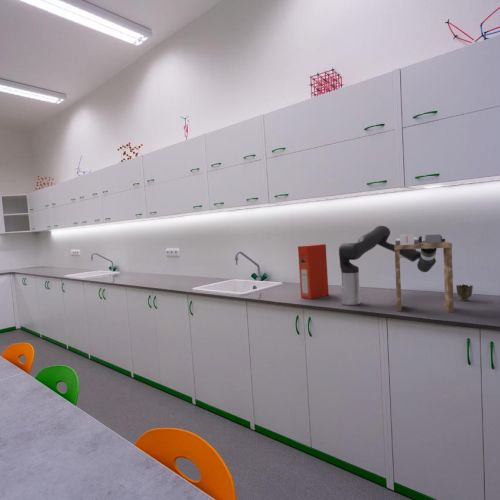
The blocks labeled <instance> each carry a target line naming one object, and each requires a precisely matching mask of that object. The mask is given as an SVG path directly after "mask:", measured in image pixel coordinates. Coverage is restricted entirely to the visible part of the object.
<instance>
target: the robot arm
mask: <svg viewBox="0 0 500 500" xmlns="http://www.w3.org/2000/svg"><path fill="white" fill-rule="evenodd" d="M390 236H391V230H390V228H389V227H388V226H385V225H378V226H376V227H375V228H374V229H373V230H371V231H369V232H367V233H366V234H363V235H362V236H360V237H359V238H358V239H357V242H343V243H340V245H339V247H338V257H339V268H340V272H341V287H340V288H341V304H342V305H347V306H355V305H360V304H361V290H360V269H359V266H357V265H355V264H353V263H352V262H350V261H356V260H359V259H361V257H362V256H364V254H365V253H367V252H369V251H370V250H373V249H374V248H375V247H377V245H378V246H380V247H382V248H384V249H386V250H388V251H391V252H393V253H395V246H394V244H395V243H393V244H392V243H390V242H388V239H389V237H390ZM417 239H418V240H419V243H425V239H423V238H422V235H420V236H419V237H418V238H417ZM441 242H446V238H443V236H442V235H441ZM437 250H438V248H424V249H420V251H419V250H418V249H399V255H400V256H402V258H403V257H404V258H405V259H406V260H408V261H410V262H411V263H414V262H415V261H417V260H418V261H417V264H416V266H417V269H418V270H419V271H420V272H421V273H427V272H429V271H430V270H431V269H432V268H433V267H434V266H435V264H436V263H437V259H436V254H437Z"/></svg>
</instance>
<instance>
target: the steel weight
mask: <svg viewBox="0 0 500 500" xmlns="http://www.w3.org/2000/svg"><path fill="white" fill-rule="evenodd" d="M441 236H442V235H441V233H433V234H432V233H431V234H425V235H424V241H425V243H426V244H434V243H441Z"/></svg>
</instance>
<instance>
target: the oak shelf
mask: <svg viewBox="0 0 500 500" xmlns="http://www.w3.org/2000/svg"><path fill="white" fill-rule="evenodd" d="M393 244H394V246H395V252H394V265H395V269H394V270H395V271H394V272H395V294H396V311H397V312H402V310H403V309H402V306H403V305H402V287H401V281H402V280H401V260H400V259H401V258H400V256H401V255H400V254H399V249H415V250H419V249H420V250H421V249H424V248H437V249H442V250H443V251H442V252H443V253H442V255H443V275H444V276H443V277H444V280H443V281H444V283H443V284H444V306H445V309H446V310H447V312H448V313H450V314H451V313H454V312H455V311H454V309H455V308H454V307H455V306H454V305H455V304H454V303H455V301H454V281H453V280H454V279H453V278H454V277H453V276H454V275H453V272H454V271H453V243H452V242H449V241H445V242H441V243H434V244H426V243H419V244H415V245H396V244H395V243H393Z"/></svg>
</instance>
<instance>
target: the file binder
mask: <svg viewBox="0 0 500 500" xmlns="http://www.w3.org/2000/svg"><path fill="white" fill-rule="evenodd" d="M297 252H298V267H299V268H298V269H299V270H298V271H299V285H300V298H301V299H305V300H313V299H317V298H320V297H324V296H329V295H330V294H329V280H328V262H327V261H328V260H327V245H326V243H322V244H321V243H319V244H308V245H300V246H297Z"/></svg>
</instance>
